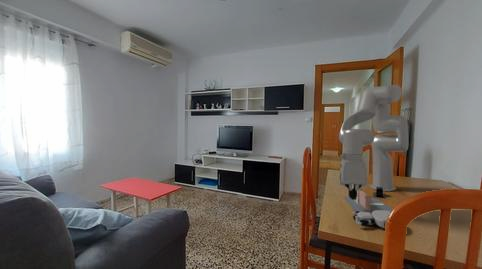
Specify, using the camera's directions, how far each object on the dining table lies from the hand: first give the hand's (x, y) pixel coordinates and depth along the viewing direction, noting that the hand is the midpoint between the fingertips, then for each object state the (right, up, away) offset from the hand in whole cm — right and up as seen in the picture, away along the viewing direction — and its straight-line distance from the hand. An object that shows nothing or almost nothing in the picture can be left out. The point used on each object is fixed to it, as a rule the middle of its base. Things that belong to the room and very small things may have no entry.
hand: (352, 198), depth 91 cm
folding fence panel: (+6, -4, +2) cm, 8 cm away
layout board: (+10, -5, +6) cm, 13 cm away
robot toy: (+1, -6, -13) cm, 15 cm away
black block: (+25, -5, +19) cm, 32 cm away
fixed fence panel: (+8, -5, +11) cm, 14 cm away
